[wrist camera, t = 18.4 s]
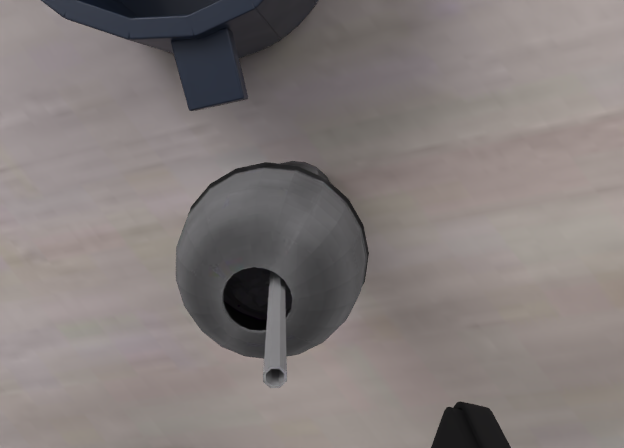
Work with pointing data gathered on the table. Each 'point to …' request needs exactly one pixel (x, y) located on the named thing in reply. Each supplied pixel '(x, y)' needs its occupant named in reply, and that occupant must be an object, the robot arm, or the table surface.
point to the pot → (196, 35)
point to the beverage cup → (271, 262)
